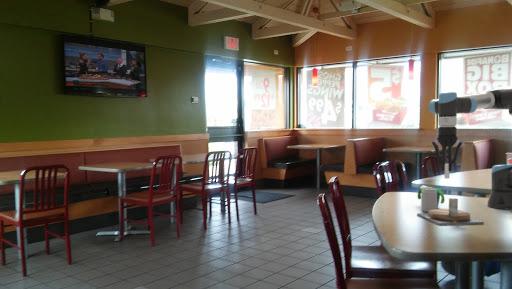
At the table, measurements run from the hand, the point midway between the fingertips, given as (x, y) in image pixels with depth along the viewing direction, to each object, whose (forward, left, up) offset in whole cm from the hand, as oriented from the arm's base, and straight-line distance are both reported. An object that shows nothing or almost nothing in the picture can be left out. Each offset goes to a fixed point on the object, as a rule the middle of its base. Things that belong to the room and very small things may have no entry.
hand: (447, 178), depth 192 cm
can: (-4, -24, -21) cm, 32 cm away
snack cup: (-10, -34, -21) cm, 42 cm away
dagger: (-23, -61, -21) cm, 69 cm away
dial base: (-4, -5, -21) cm, 22 cm away
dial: (-4, -5, -19) cm, 20 cm away
